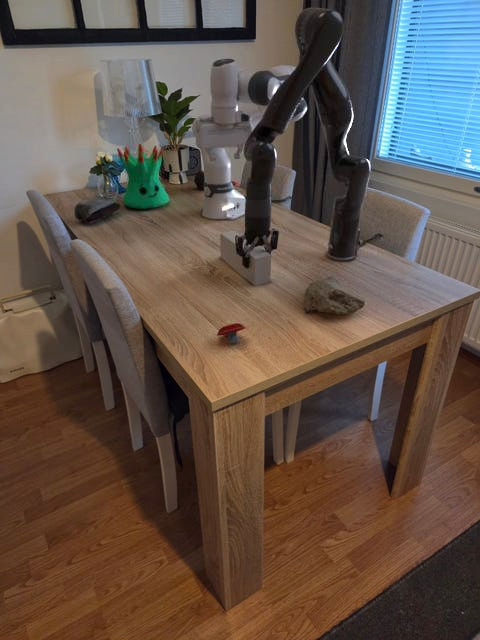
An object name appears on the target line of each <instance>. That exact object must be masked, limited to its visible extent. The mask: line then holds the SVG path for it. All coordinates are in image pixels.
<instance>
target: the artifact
mask: <svg viewBox="0 0 480 640" xmlns="http://www.w3.org/2000/svg"><path fill="white" fill-rule="evenodd" d="M304 296H305V298H304V302H303V303H304V308H305V310H306V311H307V312H308V313H310V312H313V311H314V310H317V311H318V313H328V314H334V315H341V316H343V315H346V314H348V313H349V312H350V313H356V312H357V311H358V310H361V309H363V308H364V307H365V304H366V303H365V300H363V299H361V298H359V297H358V296H356V295H354V294H353V293H351V292H350V291H349V290H348V289H346V288H345V287H344V286H343V285H342V284H341V283H340V281H339V280H338V279H337V278H336V277H335V276H329V277H327V278H324V279H320V280H319V279H316V281H313V282H310V283H309V284H308V285H307V287H306V288H305V292H304Z"/></svg>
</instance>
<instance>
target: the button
mask: <svg viewBox="0 0 480 640" xmlns="http://www.w3.org/2000/svg"><path fill="white" fill-rule="evenodd" d="M245 329H246V326H244V325H243V324H241V323H238V322H236V323H229V324H227V325H225V326H222V327H221V328H220V329H218V331H217V333H216V336H217V337H222V336H228V342H229V343H230V344H233V345H235V344H236V343H237V342H239V337H238V336H237V333H238V332H240V331H243V330H245Z"/></svg>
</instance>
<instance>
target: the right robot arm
mask: <svg viewBox="0 0 480 640" xmlns="http://www.w3.org/2000/svg"><path fill="white" fill-rule="evenodd" d="M344 26H345V25H344V20H343V17H342V15H341V14H340V12H338V10H334V9H332V8H323V7H307V8H305V9H303V10H302V11H301V12H299V14H298V16H297V18H296V21H295V23H294V36H295V42H296V45H297V48H298V51H299V53H300V56H301V59H300V61H299V63H298V64H297V66H295V67H296V68H295V70H294V71H293V72H292V73H291V74H290V75H289V76H288V77H287V78H286V80H285V81H284V82H283V83H282V84H281V85H280V86H279V87H278V89H277V90H276V91H275V93H274V94H273V96H272V98H271V100H270V102H269V104H268V106H267V108H266V110H265V113H264V114H263V117H262V119H261V120H260V122H259V123H258V124H257V125H256V127H255V128H254V130H253V131H252V132H251V134H250V135H249V137H248V139H247V141H246V143H245V145H243V157H244V159H245V160H246V161H247V162H248V163H250V164H251V166H250V167H251V168H250V175H248V176H247V178H246V181H245V182H246V183H245V196H246V201H245V214H244V234H241V235H242V236H238V235H236V236H235V244H236V253H237V254H238V255H239V256H240V257H242V265H243V266H244V267H245V268H246V269H247V268H249V257H248V256H249V254H250V252H251V251H252V250H253V249H254V247H257V246H259V247H263V250H265V251H266V252H268V253H269V254H270V255H271V256H272V252H273V251H274V250H277V249H278V245H279V244H278V243H279V236H280V231H279V230H278V229H276V228H272V229H271V222H272V221H271V219H272V202H271V200H272V195H271V194H272V179H273V178H274V173H275V169H276V164H277V150H276V147H275V146H274V144H273V143H274V141H275V140H276V138H277V137H278V136H282V135H283V134H284V133H285V132H286V130H287V129H288V126H289V124H290V123H291V122H290V120H291V118H292V117H293V115H294V113H295V111H296V109H297V107H298V105H299V103H300V101H301V100H302V98H303V99H304V96H305V94H306V93H307V92H308V90H309V88H310V87H311V90H312V94H313V97H314V101H315V106H316V110H317V114H318V117H319V122H320V124H321V128H322V132H323V136H324V140H325V144H326V149H327V155H328V156H327V157H328V163H329V169H330V175H331V177H332V180H333V181H334V182H335V184H337V185H340V186H344V187H347V190H346V194H341V195H337V196H335V197H334V198H333V203H332V213H331V220H330V221H331V222H330V230H329V238H328V242H327V246H328V248H327V257H328V258H330V259H332V260H334V261H338V262H347V261H353V260H354V259H355V257H357V256H358V255H357V254H358V249H359V247H361V246H363V245H364V244H366V242H368V241H371V240H373V239H375V238H377V237H378V236H379V237H383V234H382V233H381V232H377V233H376V234H374V235H372V236H371V237H368V238H366V239H364V240H363V241H362V242H361V240H360V235H361V229H360V221H361V215H362V209H363V204H364V202H365V199H366V195H367V189H368V185H369V180H370V176H371V164H370V163H371V162H370V161H369V160H368V159H367V158H365V157H361V156H356V155H352V154H350V153H349V151H348V147H347V142H346V141H347V140H346V139H347V135H348V133H349V131H350V128H351V127H352V123H353V120H354V111H353V105H352V100H351V96H350V93H349V90H348V88H347V86H346V84H345V82H344V81H343V79H342V77H341V76H340V75H339V73H338V71H337V70H336V68H335V66H334V64H333V62H332V59H331V57H332V55H333V54H334V52H335V51H336V49H337V47H338V46H339V44H340V42H341V39H342V37H343V34H344V28H345V27H344ZM380 233H381V234H380ZM269 237H270V239H269ZM245 239H246V242H245V244H244V248H243V243H244V240H245ZM268 239H269V240H268ZM249 245H250V247H249Z"/></svg>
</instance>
